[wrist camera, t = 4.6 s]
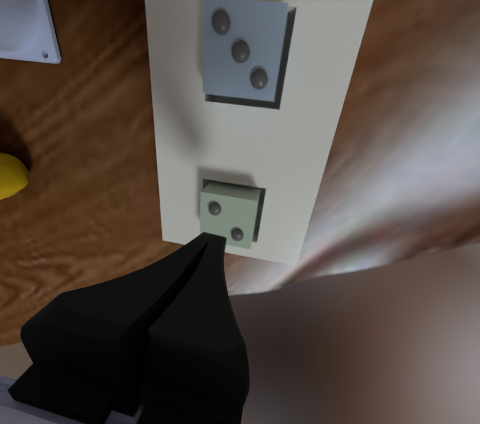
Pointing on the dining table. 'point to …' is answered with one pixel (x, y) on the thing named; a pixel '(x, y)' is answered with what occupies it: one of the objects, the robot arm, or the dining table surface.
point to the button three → (243, 48)
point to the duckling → (12, 175)
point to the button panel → (250, 120)
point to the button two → (229, 212)
